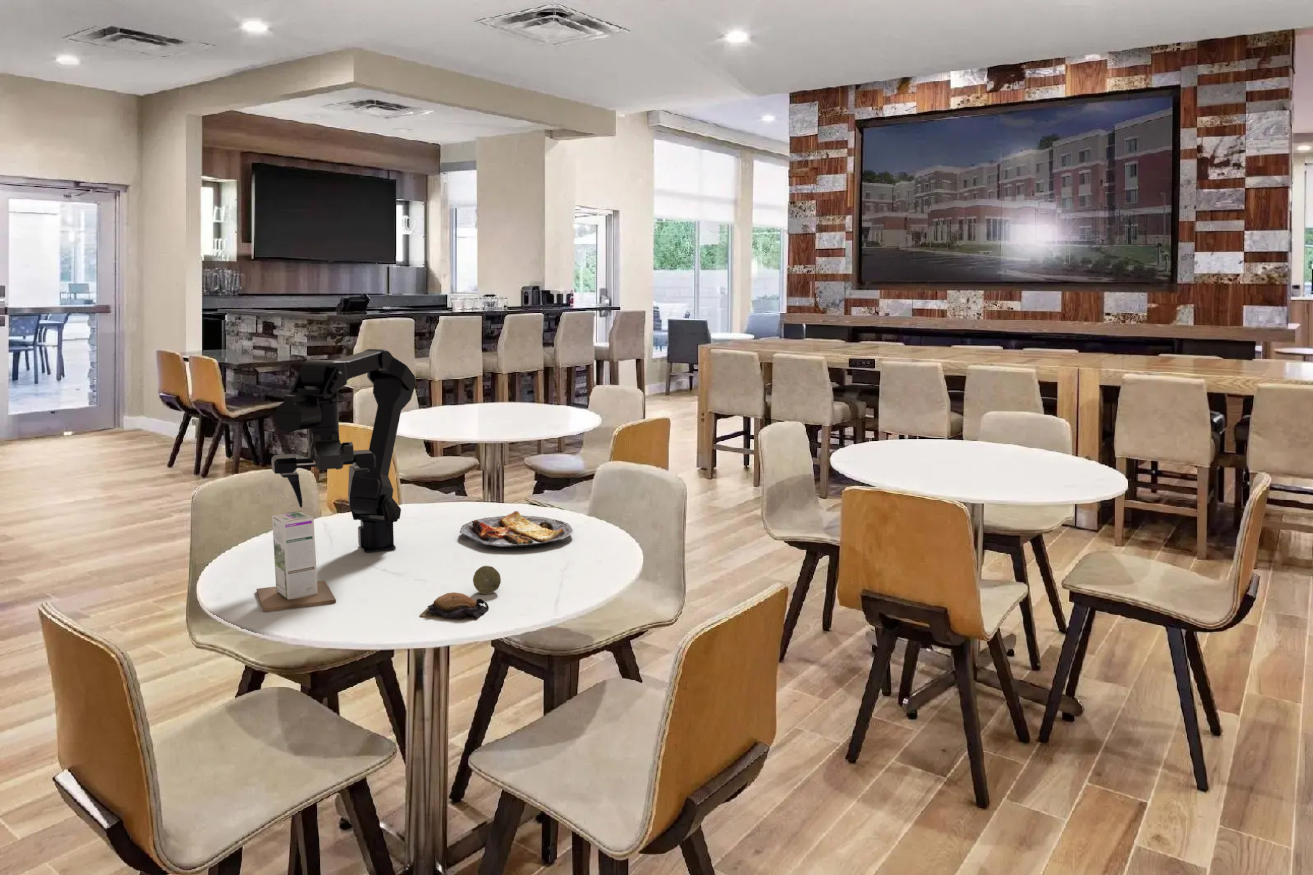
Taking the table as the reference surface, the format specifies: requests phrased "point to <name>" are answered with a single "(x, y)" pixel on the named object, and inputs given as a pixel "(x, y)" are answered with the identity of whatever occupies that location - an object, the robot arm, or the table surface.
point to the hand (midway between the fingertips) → (325, 505)
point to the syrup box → (294, 555)
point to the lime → (486, 579)
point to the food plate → (516, 530)
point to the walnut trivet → (277, 602)
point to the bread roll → (455, 608)
